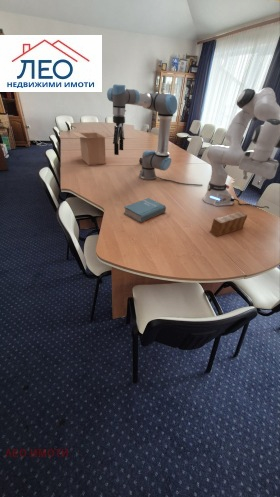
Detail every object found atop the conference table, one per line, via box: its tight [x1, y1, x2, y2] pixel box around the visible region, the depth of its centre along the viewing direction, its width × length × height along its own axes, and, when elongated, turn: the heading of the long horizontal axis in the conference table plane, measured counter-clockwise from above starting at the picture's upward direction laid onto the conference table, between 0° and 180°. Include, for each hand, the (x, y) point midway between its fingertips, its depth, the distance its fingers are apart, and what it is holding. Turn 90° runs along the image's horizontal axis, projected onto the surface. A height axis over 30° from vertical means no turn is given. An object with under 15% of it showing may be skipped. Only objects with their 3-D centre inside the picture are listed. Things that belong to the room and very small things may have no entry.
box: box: [70, 129, 114, 166], centre depth 229 cm, size 44×36×27 cm
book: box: [123, 197, 167, 223], centre depth 146 cm, size 23×16×5 cm
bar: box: [209, 211, 248, 237], centre depth 133 cm, size 23×5×9 cm, turn 121°
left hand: (118, 152), depth 148 cm, fingers open, 13 cm apart
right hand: (251, 181), depth 122 cm, fingers open, 8 cm apart
